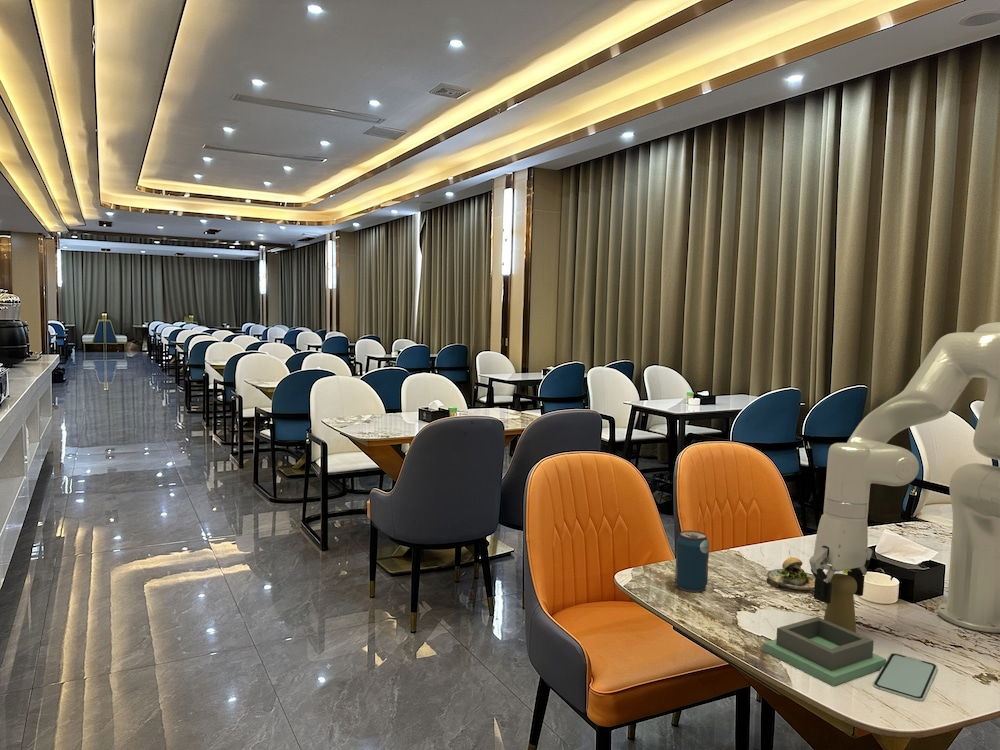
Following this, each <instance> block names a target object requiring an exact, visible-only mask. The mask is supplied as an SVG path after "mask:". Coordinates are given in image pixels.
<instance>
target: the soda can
mask: <svg viewBox="0 0 1000 750" xmlns="http://www.w3.org/2000/svg"><path fill="white" fill-rule="evenodd" d="M709 556H710V542H709V540H708V536H707V534H706V533H705V532H701V531H698V530H682V531H680V532H679V535H678V537H677V539H676V549H675V570H674V571H675V575H674V577H675V578H674V580H675V583H676V585H677V587H678V588H679V589H680V590H683V591H686V592H690V593H698V592H702V591H704V590H705V589H706V588H707V585H708V582H709V581H708V579H709V577H708V576H709Z"/></svg>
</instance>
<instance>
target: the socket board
mask: <svg viewBox="0 0 1000 750" xmlns="http://www.w3.org/2000/svg"><path fill="white" fill-rule="evenodd" d="M874 641H875V640H874V639H872V638H870V637H867V636H864V635H862V634H859V633H858V632H857V633H855V632H853V631H850V630H848V629H845V628H843V627H841V626H838V625H836V624H833V623H831V622H829V621H826V620H824V618H821V617H818V616H816V617H812V618H808V619H805V620H801V621H798V622H794V623H789V624H786V625H783V626H780V627H777V629H776V638H775V639H771V640H768V641H765V642H763V647H762V648H763V649H762V651H763V652H764V653H766V654H769V655H770V656H773V657H775V658H777V659H778V660H780V661H782V662H785V663H786V664H788V665H790V666H793V667H795V668H797V669H798V670H800V671H803V672H805V673H807V674H808V675H810V676H813V677H814V678H816V679H818V680H820V681H822V682H824V683H826V684H828V685H830V686H832V687H835V686H838V685H841V684H843V683H847V682H850V681H852V680H854V679H858V678H860V677H864V676H866V675H869V674H871V673H872V674H873V673H875V672H877V671H880V670H881V668H882V667H883V666H884V665H886V660H887V658H885V657H882V656H880V655H878V654H875V653H874Z"/></svg>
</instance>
